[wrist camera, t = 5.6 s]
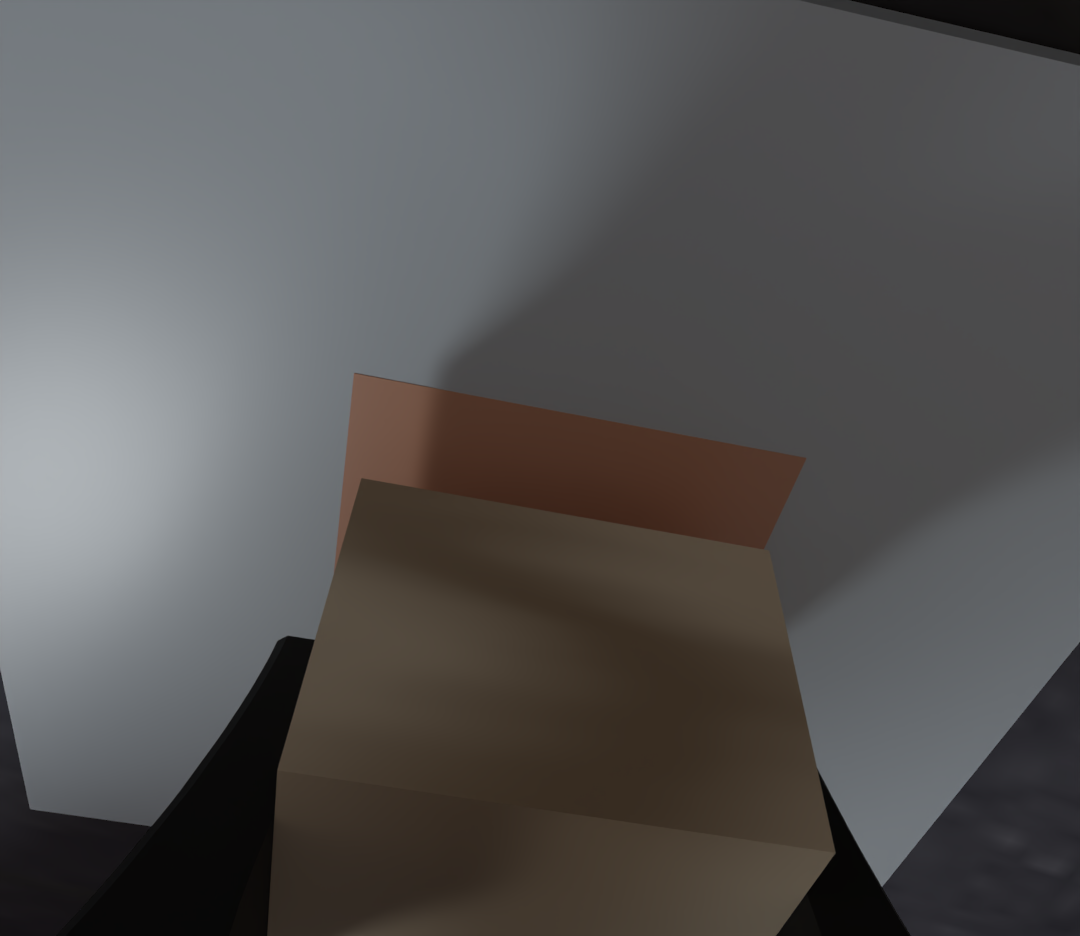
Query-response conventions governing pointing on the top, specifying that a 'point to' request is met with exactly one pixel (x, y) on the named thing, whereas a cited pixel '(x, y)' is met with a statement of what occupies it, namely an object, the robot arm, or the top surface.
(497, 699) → the beech block
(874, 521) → the baseplate
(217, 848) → the robot arm
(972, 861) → the top surface
